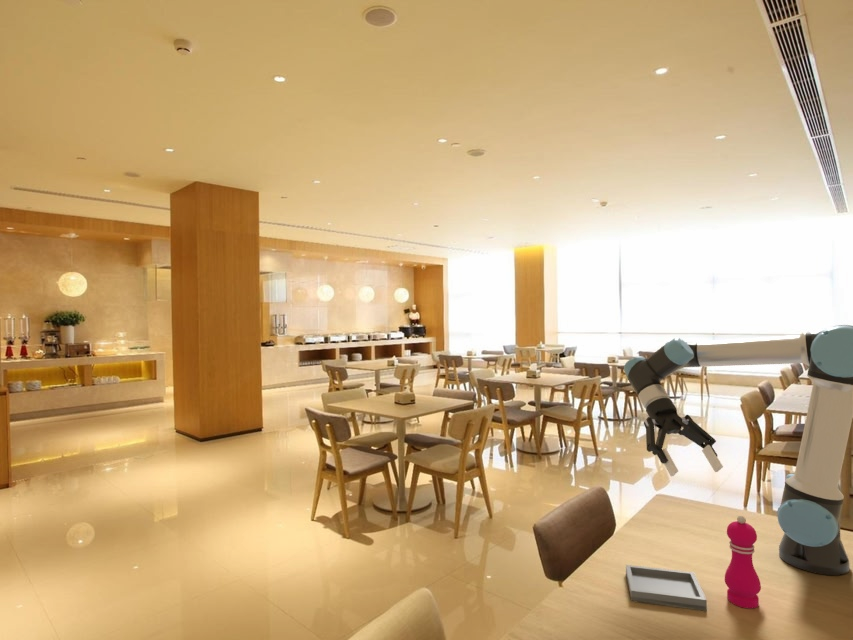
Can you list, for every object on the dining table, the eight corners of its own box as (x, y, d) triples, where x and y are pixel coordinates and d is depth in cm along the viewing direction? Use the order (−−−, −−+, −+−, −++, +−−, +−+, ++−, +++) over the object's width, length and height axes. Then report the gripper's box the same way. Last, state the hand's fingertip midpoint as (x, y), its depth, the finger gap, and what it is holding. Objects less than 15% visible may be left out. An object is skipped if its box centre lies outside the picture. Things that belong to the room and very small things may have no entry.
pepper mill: (767, 611, 114) (765, 523, 114) (731, 608, 116) (730, 521, 116) (753, 594, 122) (751, 511, 122) (720, 591, 123) (718, 509, 123)
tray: (694, 582, 128) (693, 572, 128) (706, 611, 115) (706, 600, 115) (625, 574, 132) (625, 564, 132) (631, 601, 120) (631, 590, 120)
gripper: (688, 409, 151) (729, 474, 137) (613, 414, 146) (648, 482, 131) (701, 394, 146) (745, 460, 132) (625, 398, 140) (662, 468, 126)
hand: (697, 471), depth 131 cm, fingers open, 13 cm apart
